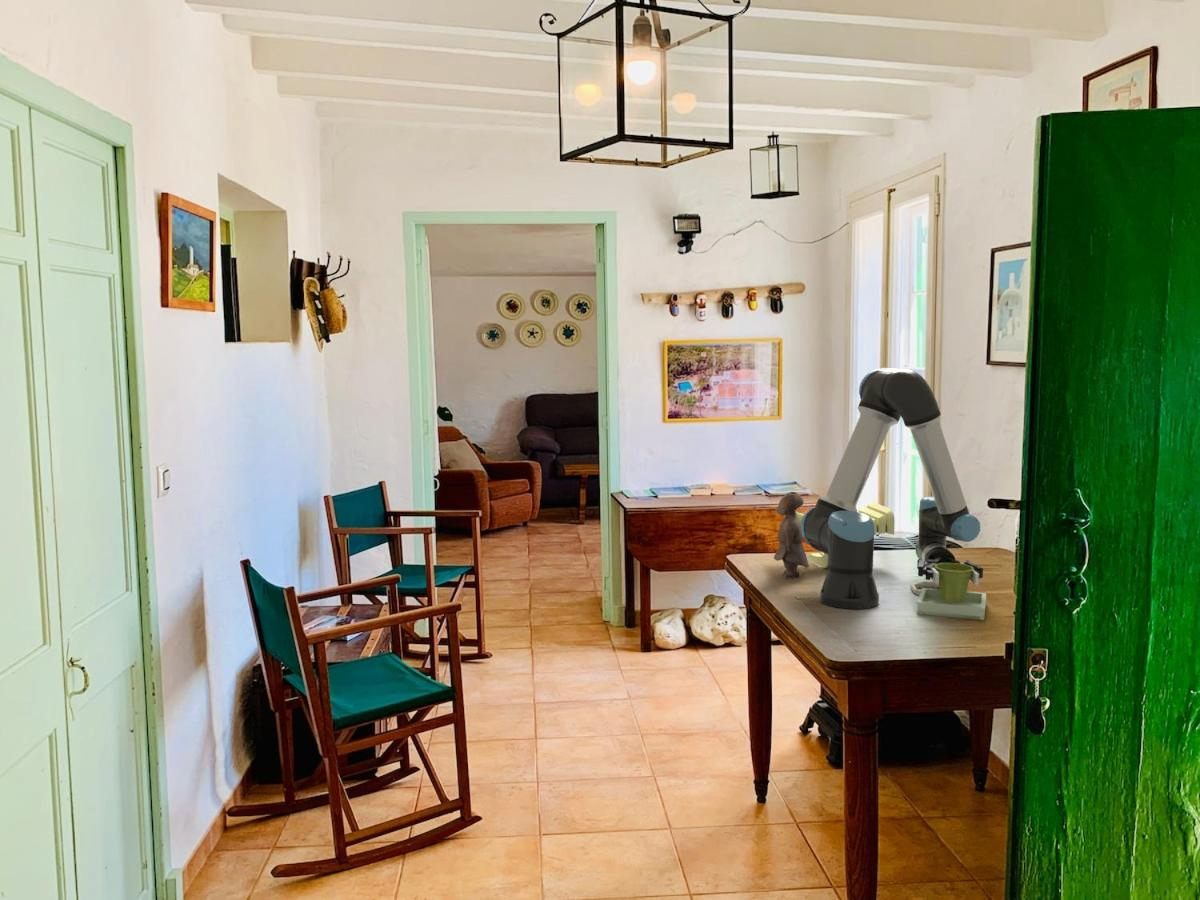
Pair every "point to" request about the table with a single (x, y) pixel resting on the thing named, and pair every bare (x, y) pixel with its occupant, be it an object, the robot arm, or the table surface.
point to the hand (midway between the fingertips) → (957, 579)
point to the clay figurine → (790, 535)
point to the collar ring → (921, 584)
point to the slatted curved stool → (882, 524)
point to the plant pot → (953, 581)
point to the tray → (951, 605)
